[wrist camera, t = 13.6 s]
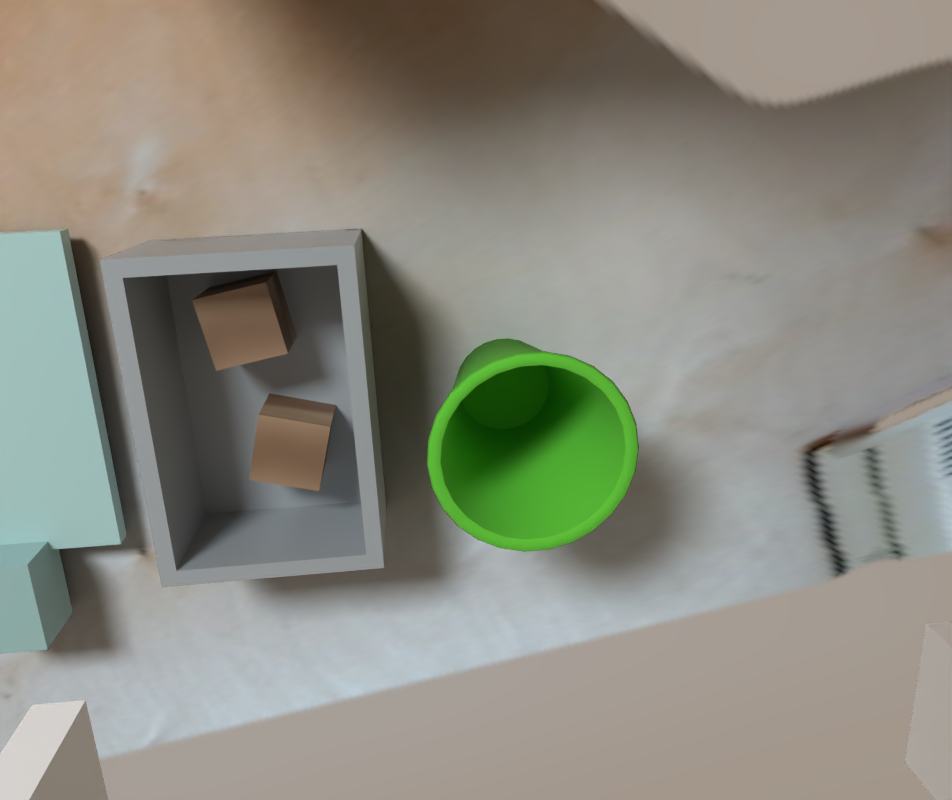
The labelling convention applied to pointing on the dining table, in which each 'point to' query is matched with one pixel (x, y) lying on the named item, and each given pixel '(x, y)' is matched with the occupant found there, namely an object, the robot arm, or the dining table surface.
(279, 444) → the block
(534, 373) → the cup
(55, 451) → the lid
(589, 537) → the dining table surface
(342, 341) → the tub
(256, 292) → the block
